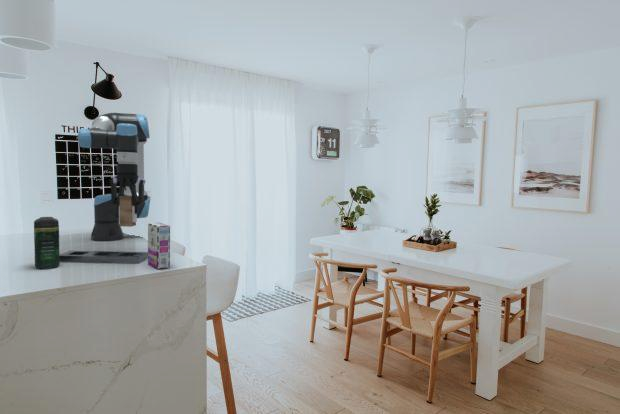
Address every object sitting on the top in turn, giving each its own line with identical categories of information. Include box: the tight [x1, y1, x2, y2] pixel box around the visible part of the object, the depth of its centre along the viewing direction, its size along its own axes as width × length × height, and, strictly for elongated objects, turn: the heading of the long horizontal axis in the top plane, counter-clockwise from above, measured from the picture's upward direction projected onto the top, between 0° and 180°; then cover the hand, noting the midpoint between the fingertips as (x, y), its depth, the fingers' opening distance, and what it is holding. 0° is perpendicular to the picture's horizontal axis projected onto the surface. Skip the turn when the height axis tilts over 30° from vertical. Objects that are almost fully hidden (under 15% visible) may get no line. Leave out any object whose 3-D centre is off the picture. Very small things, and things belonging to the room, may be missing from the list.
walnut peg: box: [119, 196, 137, 228], centre depth 163 cm, size 4×4×12 cm
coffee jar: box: [33, 216, 61, 269], centre depth 152 cm, size 10×8×19 cm
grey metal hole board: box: [59, 250, 148, 265], centre depth 165 cm, size 10×32×2 cm, turn 91°
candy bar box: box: [147, 222, 171, 270], centre depth 157 cm, size 11×5×16 cm, turn 40°
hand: (128, 221), depth 163 cm, fingers closed on walnut peg, 4 cm apart
